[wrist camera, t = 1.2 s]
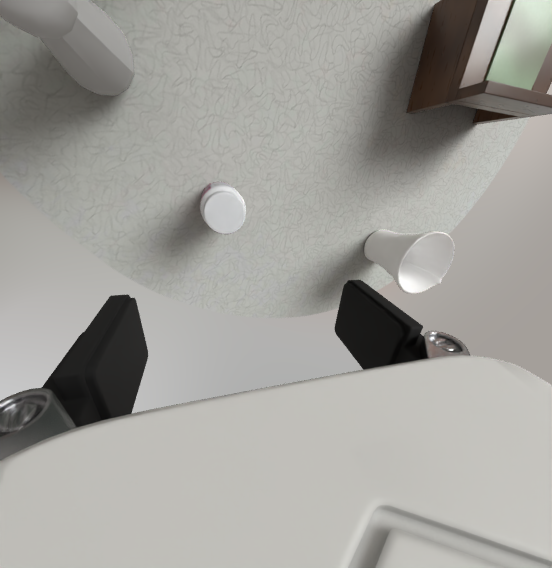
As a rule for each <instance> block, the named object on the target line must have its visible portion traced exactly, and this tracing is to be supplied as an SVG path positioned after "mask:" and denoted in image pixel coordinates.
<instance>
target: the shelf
mask: <svg viewBox="0 0 552 568" xmlns="http://www.w3.org/2000/svg"><path fill="white" fill-rule="evenodd" d="M551 82H552V0H441V1H439V2H438V3H436V4H435V5H434V9H433V12H432V16H431V20H430V24H429V28H428V32H427V35H426V39H425V43H424V47H423V51H422V55H421V59H420V62H419V66H418V70H417V74H416V78H415V82H414V86H413V89H412V93H411V97H410V101H409V105H408V109H407V113H413V114H414V113H418V112H422V111H427V110H431V109H435V108H439V107H443V106H448V105H452V104H456V105H461V106H466V107H471V108H477V109H478V110H477V112H476V115H475V118H474V120H473V123H474V124H483V123H490V122H497V121H505V120H512V119H519V118H526V117H532V116H540V115H546V114H552V95H549V94H546V93H547V91H548V89H549V87H550V84H551Z"/></svg>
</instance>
